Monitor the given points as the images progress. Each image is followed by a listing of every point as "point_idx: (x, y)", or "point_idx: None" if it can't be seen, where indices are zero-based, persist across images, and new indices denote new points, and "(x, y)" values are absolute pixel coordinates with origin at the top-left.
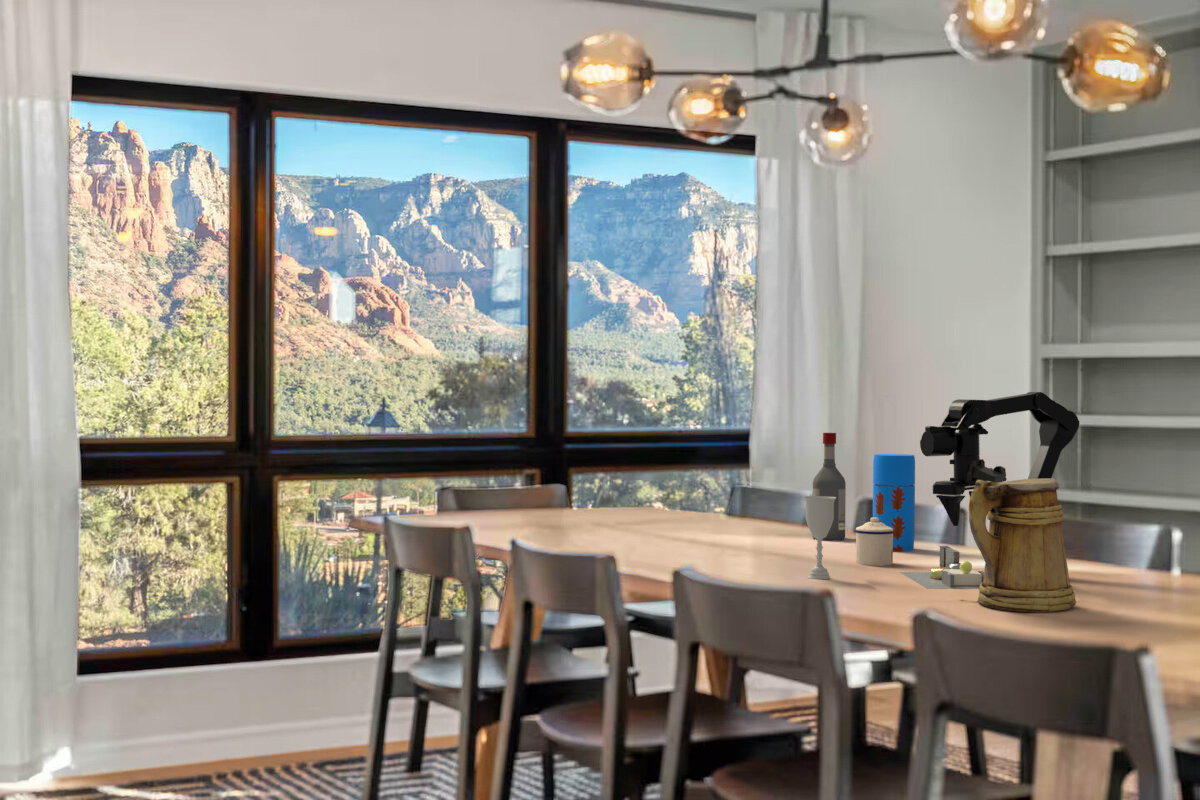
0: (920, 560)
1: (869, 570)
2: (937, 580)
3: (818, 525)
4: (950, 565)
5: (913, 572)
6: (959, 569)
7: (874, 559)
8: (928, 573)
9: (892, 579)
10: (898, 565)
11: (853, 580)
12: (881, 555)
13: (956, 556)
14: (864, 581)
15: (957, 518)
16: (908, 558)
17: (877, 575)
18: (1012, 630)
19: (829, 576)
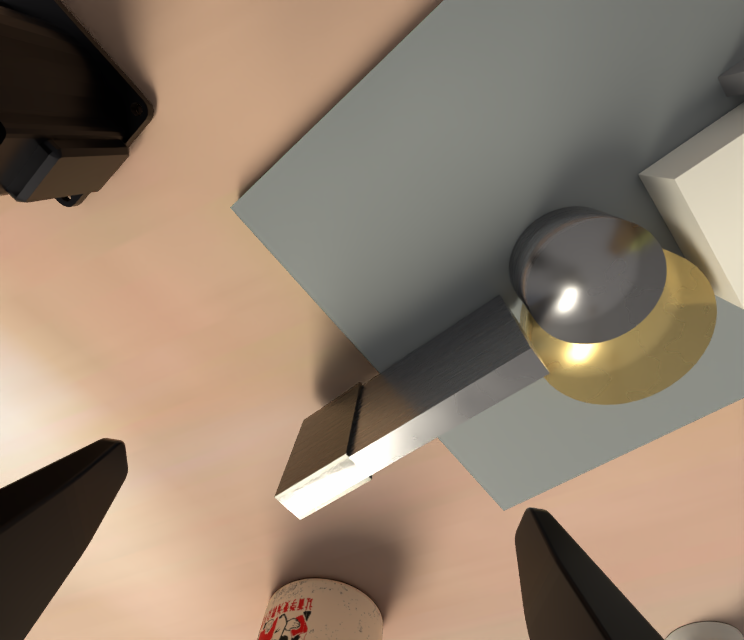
0: (77, 569)
1: (424, 599)
2: None
3: None
4: (640, 318)
5: (481, 475)
6: (720, 235)
7: (373, 634)
8: (473, 426)
9: (622, 486)
10: (241, 577)
11: (723, 564)
12: (355, 637)
13: (532, 347)
14: (735, 534)
15: (603, 579)
16: (70, 602)
17: None
18: None
19: (703, 630)
